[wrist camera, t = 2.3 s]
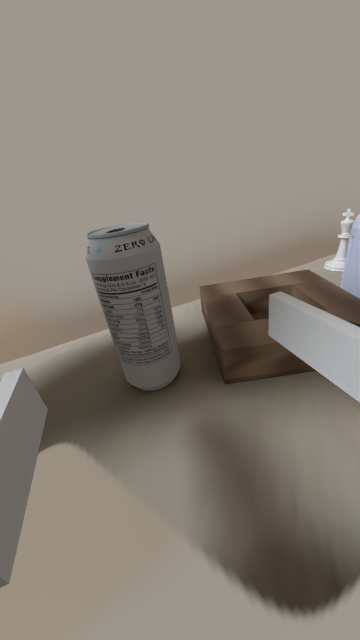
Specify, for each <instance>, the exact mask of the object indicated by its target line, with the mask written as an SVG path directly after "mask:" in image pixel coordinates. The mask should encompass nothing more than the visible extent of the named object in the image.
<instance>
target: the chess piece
mask: <svg viewBox="0 0 360 640" xmlns="http://www.w3.org/2000/svg"><path fill="white" fill-rule="evenodd" d="M351 211H352V209H351V208H350V209H348V210H347V213H343V216H346V219H345V220H343V221H341V222H340V224H341V229H342V234H340V235H338V237H339V238H341V242H340V245H339V248H338V252H337V255H336V257H335V258H333V259H334V260H330V261H327V262H326V263H325V266H324V268H325V269H327V270H330V271H338V272H343V270H344V265H345V260H346V254H347V240H348V238H350V234H349V231H350V230H351V228H352V225H353V223H354V220H351V219H350V216H354V215H355V213H351Z"/></svg>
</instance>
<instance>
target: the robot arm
mask: <svg viewBox="0 0 360 640" xmlns="http://www.w3.org/2000/svg"><path fill="white" fill-rule="evenodd" d="M268 335H269V336H270V337H272V338H273V339H274V340H276V341H277V342H278V343H280V344H281V345H282V346H284V347H285V348H286V349H288V350H289V351H291V352H292V353H293V354H295V355H296V356H297V357H299V358H300V359H301V360H303V361H304V362H305V363H307V364H308V365H309V366H311V367H312V368H314V369H315V370H316V371H318V372H319V373H320V374H322V375H323V376H324V377H326V378H327V379H328V380H330V381H331V382H332V383H334V384H335V385H337V386H338V387H339V388H341V389H342V390H343V391H345V392H346V393H347V394H349V395H350V396H351V397H353V398H354V399H355V400H357V401H358V402H359V403H360V324H358V323H354V322H350V321H345V320H343V319H340V318H338V317H336V316H334V315H332V314H329V313H327V312H325V311H323V310H321V309H318V308H316V307H314V306H312V305H310V304H308V303H305V302H303V301H301V300H299V299H297V298H294V297H292V296H290V295H288V294H286V293H283V292H281V291H280V292H276V293H273V294H270V295H269V328H268ZM47 411H48V409H47V407H46V405H45V404H44V402H43V400H42V399H41V397H40V395H39V394H38V392H37V390H36V388H35V387H34V385H33V383H32V382H31V380H30V378H29V377H28V375H27V373H26V372H25V370H24V368H20V369H17V370H13V371H10V372H7V373H5V374H4V376H3V378H2V380H1V382H0V588H1V587H3V586H5V585H7V584H9V581H10V577H11V572H12V567H13V563H14V559H15V554H16V550H17V545H18V541H19V536H20V532H21V527H22V522H23V519H24V514H25V509H26V505H27V501H28V496H29V492H30V487H31V483H32V478H33V473H34V469H35V465H36V460H37V456H38V451H39V447H40V442H41V438H42V433H43V429H44V424H45V420H46V415H47Z"/></svg>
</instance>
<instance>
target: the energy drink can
mask: <svg viewBox="0 0 360 640" xmlns="http://www.w3.org/2000/svg"><path fill="white" fill-rule="evenodd" d="M148 226H149V225H148V223H147V222H137V223H129V224H122V225H116V226H111V227H106V228H102V229H98V230H95V231H92V232H89V233H87V237H88V239H89V243H88V249H87V253H86V261H87V264H88V267H89V270H90V273H91V276H92V279H93V282H94V285H95V288H96V291H97V294H98V297H99V300H100V303H101V306H102V309H103V312H104V315H105V318H106V321H107V324H108V327H109V330H110V333H111V336H112V339H113V342H114V345H115V348H116V351H117V354H118V357H119V360H120V363H121V366H122V369H123V372H124V375H125V378H126V380H127V381H128V382H129V383H130V384H131V385H133V386H135V387H137V388H138V389H141V390H145V391H153V390H158V389H161V388H163V387H165V386H167V385H169V384H170V383H171V382H172V381H173V380H174V379H175V377H176V375H177V373H178V371H179V370H180V367H181V361H180V355H179V349H178V344H177V338H176V333H175V327H174V321H173V316H172V310H171V305H170V299H169V293H168V288H167V282H166V277H165V271H164V266H163V260H162V255H161V249H160V244H159V242H158V241H157V240H156V238H155V237H154V236H153V235H152V233H151V232H150V230H149V228H148Z"/></svg>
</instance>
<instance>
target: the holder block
mask: <svg viewBox="0 0 360 640" xmlns="http://www.w3.org/2000/svg"><path fill="white" fill-rule="evenodd" d="M280 291H281V292H283V293H286V294H288V295H290V296H292V297H294V298H297V299H299V300H301V301H303V302H305V303H308V304H310V305H312V306H314V307H316V308H318V309H321V310H323V311H325V312H327V313H329V314H332V315H334V316H336V317H338V318H340V319H343V320H345V321H350V322H354V323H358V324H360V298H358V297H356V296H354V295H353V294H351V293H349V292H347V291H345V290H344V289H342V288H340V287H338V286H336V285H335V284H333V283H331V282H329V281H327V280H326V279H324V278H322V277H320V276H318V275H317V274H315V273H313V272H311V271H310V270H303V271H296V272H290V273H284V274H277V275H271V276H264V277H258V278H252V279H246V280H239V281H233V282H226V283H219V284H213V285H207V286H200V295H201V305H202V312H203V315H204V318H205V322H206V325H207V328H208V331H209V334H210V338H211V341H212V344H213V347H214V350H215V354H216V357H217V360H218V363H219V366H220V370H221V373H222V376H223V379H224V382H225V384H228V383H235V382H242V381H248V380H255V379H262V378H269V377H275V376H282V375H289V374H296V373H302V372H309V371H316V370H315V369H314V368H312V367H311V366H309V365H308V364H307V363H305V362H304V361H303V360H301V359H300V358H299V357H297V356H296V355H295V354H293V353H292V352H291V351H289V350H288V349H286V348H285V347H284V346H282V345H281V344H280V343H278V342H277V341H276V340H274V339H273V338H272V337H270V336H269V335H268V328H269V295H270V294H273V293H276V292H280Z"/></svg>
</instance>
